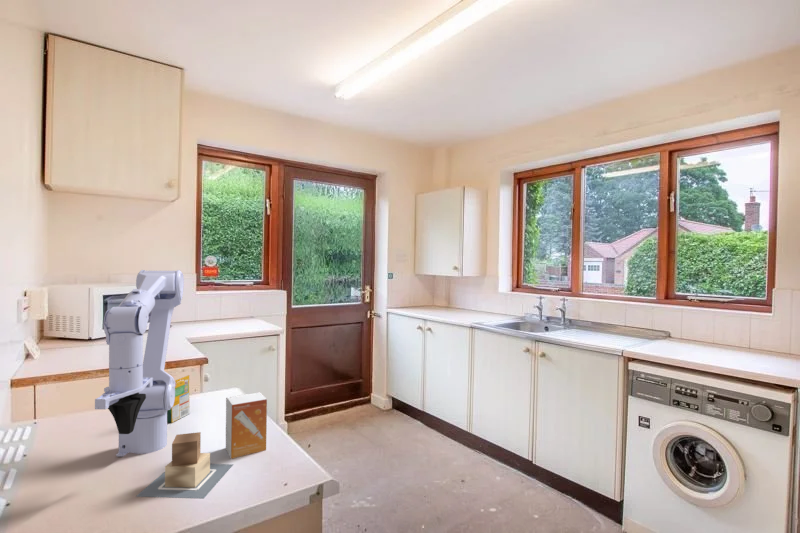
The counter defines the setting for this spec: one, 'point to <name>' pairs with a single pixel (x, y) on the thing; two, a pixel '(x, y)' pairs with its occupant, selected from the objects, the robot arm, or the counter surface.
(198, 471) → the maple block
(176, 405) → the crayon box
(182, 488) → the board
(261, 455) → the counter surface
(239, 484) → the counter surface
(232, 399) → the small box
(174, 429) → the counter surface
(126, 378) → the robot arm
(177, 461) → the walnut block
